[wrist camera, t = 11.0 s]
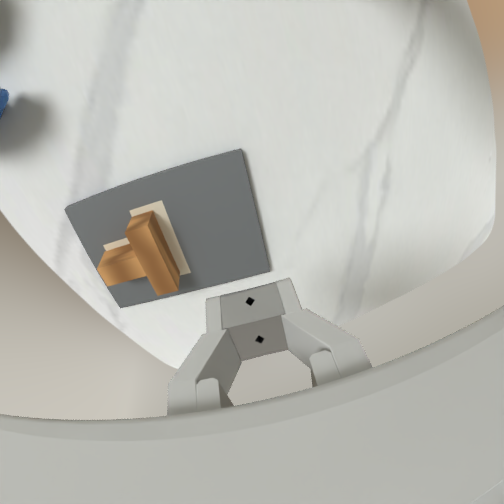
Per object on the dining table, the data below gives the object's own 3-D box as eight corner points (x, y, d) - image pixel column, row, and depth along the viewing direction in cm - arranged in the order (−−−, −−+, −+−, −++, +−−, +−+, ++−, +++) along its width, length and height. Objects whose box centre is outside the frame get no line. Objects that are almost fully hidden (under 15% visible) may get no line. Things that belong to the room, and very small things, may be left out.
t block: (152, 210, 36) (147, 225, 32) (180, 271, 41) (178, 290, 38) (93, 230, 36) (83, 246, 32) (124, 286, 41) (119, 305, 38)
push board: (240, 148, 34) (241, 150, 33) (268, 267, 44) (270, 271, 43) (67, 206, 34) (64, 209, 33) (121, 303, 44) (120, 308, 44)
